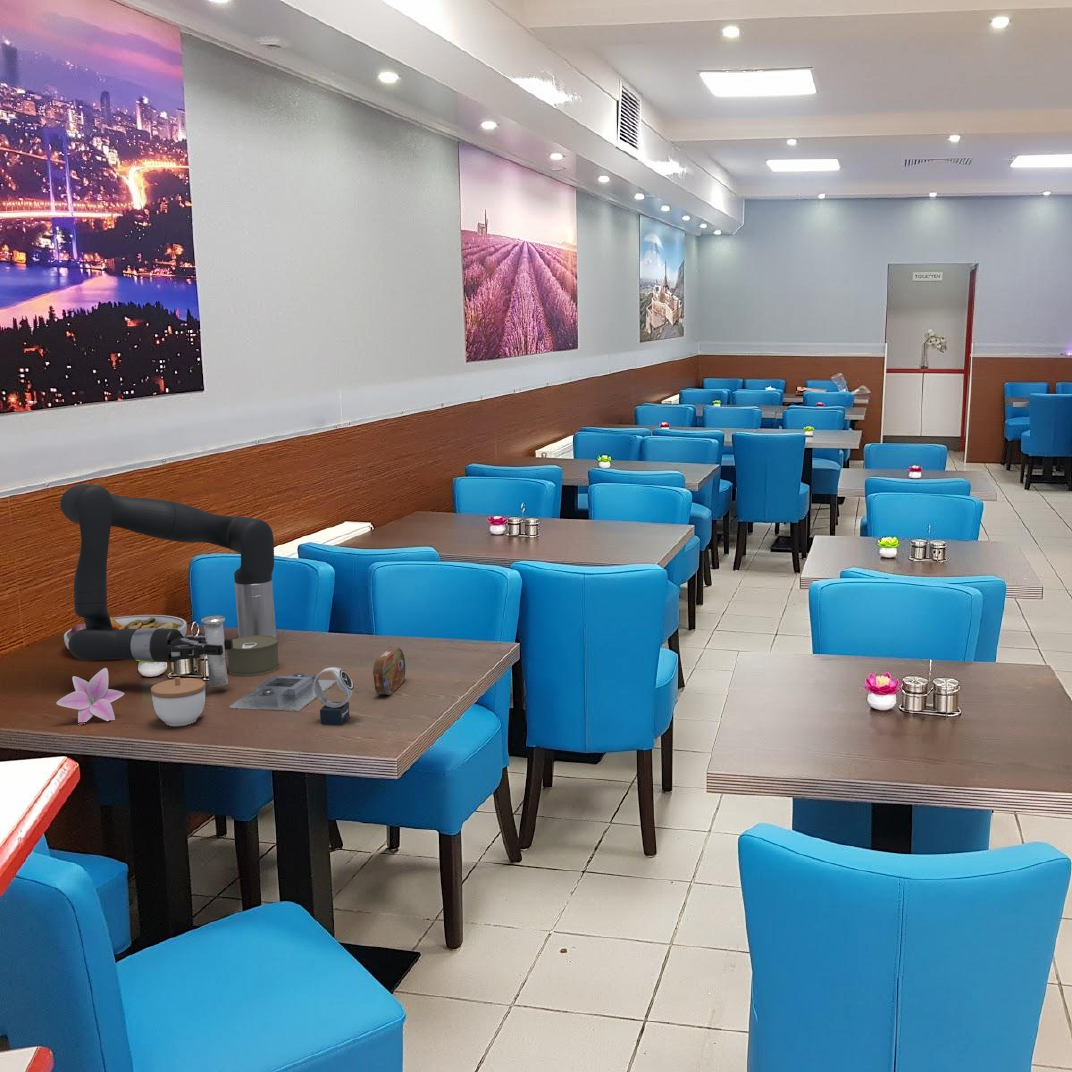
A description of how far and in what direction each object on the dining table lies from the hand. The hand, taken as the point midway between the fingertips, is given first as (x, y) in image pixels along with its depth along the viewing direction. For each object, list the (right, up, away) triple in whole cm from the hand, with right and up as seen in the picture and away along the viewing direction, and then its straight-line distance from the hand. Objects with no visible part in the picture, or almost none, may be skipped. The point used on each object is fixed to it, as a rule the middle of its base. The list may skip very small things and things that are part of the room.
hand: (226, 647), depth 259 cm
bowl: (-37, -4, +44) cm, 58 cm away
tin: (+36, -10, +1) cm, 37 cm away
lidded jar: (-5, -14, -17) cm, 23 cm away
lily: (-24, -14, -14) cm, 31 cm away
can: (+1, -7, +20) cm, 21 cm away
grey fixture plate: (+13, -10, -1) cm, 17 cm away
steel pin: (-2, -8, +2) cm, 9 cm away
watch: (+28, -13, -20) cm, 36 cm away
